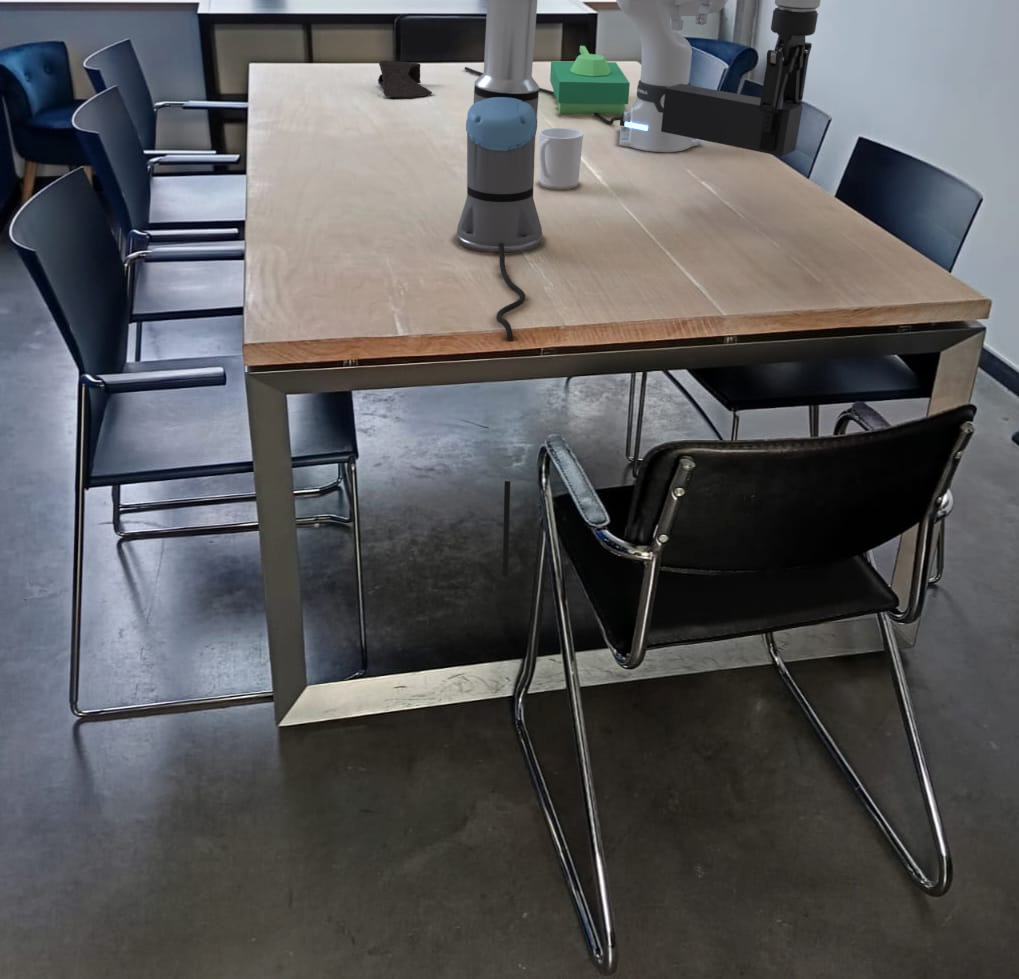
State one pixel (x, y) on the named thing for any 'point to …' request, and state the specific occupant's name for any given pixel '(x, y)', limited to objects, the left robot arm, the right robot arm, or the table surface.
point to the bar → (726, 118)
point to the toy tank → (589, 85)
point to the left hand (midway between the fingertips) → (774, 146)
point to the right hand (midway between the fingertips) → (688, 27)
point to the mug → (560, 157)
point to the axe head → (401, 79)
